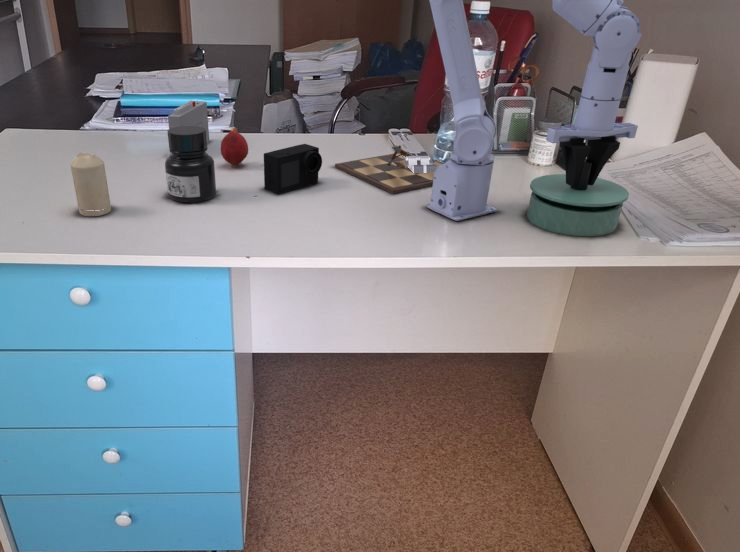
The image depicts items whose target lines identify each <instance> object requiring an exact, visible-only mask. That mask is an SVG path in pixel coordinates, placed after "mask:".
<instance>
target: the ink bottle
mask: <svg viewBox="0 0 740 552" xmlns="http://www.w3.org/2000/svg"><path fill="white" fill-rule="evenodd" d="M167 139H168V141H167V142H168V148H169V149H168V150H169V153H171V154H170V155H169V156H168V157H167V159H165V162H164V169H165V179H166V181H165V182H166V189H167V195H168V197H169V198H170V199H171V200H172V201H177V202H180V203H191V204H192V203H200V202H204V201H207V200H211V199H212V198H214V197H215V196H216V195H217V185H216V184H217V183H216V168H215V160H214V158H213V157H212V156H211V155H209V153H207V152H208V143H207V140H206V129H205V128H203V127H199V126H179V127H174V128H170V129H169V128H168V129H167Z"/></svg>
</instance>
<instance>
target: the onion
mask: <svg viewBox="0 0 740 552" xmlns="http://www.w3.org/2000/svg"><path fill="white" fill-rule="evenodd" d="M219 149H220V155H221V156H222V159H223V160H224V161H225V162H227V163H228V164H230V165H231V166H232V167H238V166H239V165H240V164H241V163H242V162H243V161H244V160H245V159H246V158H247V157H248V154H249V145H248V141H247V140H246V137H244V136H243V134H241V133H240V132H238V128H237V127H235V126H233V127H231V129H230V131H229V132H228V133H227V134H226V135H224V137H223V138H222V140H221V141H220V148H219Z"/></svg>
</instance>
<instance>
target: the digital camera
mask: <svg viewBox="0 0 740 552" xmlns="http://www.w3.org/2000/svg"><path fill="white" fill-rule="evenodd" d="M322 165H323V158H322V155H321V154H320V148H319V147H317V146H313V145H310V144H308V143H302V144H297V145H293V146H288V147H284V148H280V149H275V150H271V151H268V152H265V153H263V181H264V183H263V184H264V190H266V191H269V192H271V193H274V194H277V195H280V194H285V193H288V192H291V191H295V190H299V189H302V188H306V187H309V186H312V185H316V184H318V183H319V172H320V170H321V167H322Z"/></svg>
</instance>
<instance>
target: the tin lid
mask: <svg viewBox="0 0 740 552" xmlns="http://www.w3.org/2000/svg"><path fill="white" fill-rule="evenodd" d="M593 163H594V161H593V160H590V159H587V158H586V159H585V162H584V164H583V167H582V170H581V174H580V178H579V181H578V184H577V186H576V187H571V186H570V185H568V184H566V173H556V174H555V173H554V174H545V175H542V176H537V177H536V178H535V177H534V179H532V180H531V182H530V184H529V188H530V190H531V192H532V191H533V192H534V193H535V194H537V195H539V196H541V197H543V198H546V199H548V200H552V201H555V202H559V203H563V204H568V205H574V206H586V207H603V206H612V205H617V204H621V203H623V204H624V203H625V202H627V200H628V199H629V196H630V192H629V191H628V189H627V188H626V187H624V186H623V185H621V184H619V183H616V182H614V181H611V180H607V179H604V178H601V177H597V179H596V181H595V183H594V185H591V186H590V185H588V183H589V179H590V175H591V171H592V167H593Z"/></svg>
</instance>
